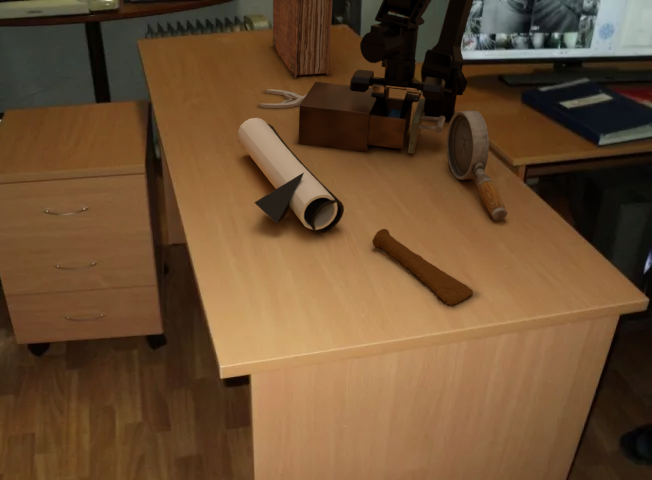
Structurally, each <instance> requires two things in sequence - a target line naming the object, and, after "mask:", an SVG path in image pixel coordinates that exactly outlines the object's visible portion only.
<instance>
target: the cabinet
mask: <svg viewBox="0 0 652 480" xmlns="http://www.w3.org/2000/svg"><path fill="white" fill-rule="evenodd" d="M372 88H373V87H369V89H368V90H367V91H366V92H356V91H351V90H350V84H349V85H348V84H339V83H331V82H322V81H315V82H314V83H313V84H312V86H311V87H310V89H309V91H308V92H307V93H306V94H307V95H306V96H305V98H304V99H303V101H302V102H301V104H300V105H299V107H298V108H299V109H298V110H299V111H298V112H299V113H298V115H299V116H298V144H299V145H300V144H301V145H308V146H313V147H314V146H315V147H322V148H328V149H329V148H330V149H338V150H346V151H353V152H361V153H367V152H368V149H369V147H370V145H368V132H369V121H370V114H371V112H372V110H373V108H374V106H375V103H376V101H377V99H376V98H375V97H372V96H371V94H372V92H373V89H372Z"/></svg>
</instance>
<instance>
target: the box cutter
mask: <svg viewBox="0 0 652 480" xmlns="http://www.w3.org/2000/svg"><path fill="white" fill-rule="evenodd" d="M400 114H401V110H396V109H391V112H390V114H389V117H393V118H400Z"/></svg>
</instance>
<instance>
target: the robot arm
mask: <svg viewBox="0 0 652 480" xmlns="http://www.w3.org/2000/svg"><path fill="white" fill-rule="evenodd" d="M430 3H432V0H382V1H381V3H380V6H379V8H378V11H377V13H376V16H375V17H374V21H375V22H379V23H375V24H371V25H370V29H369V30H370V31H369V32H367V33H365V34H364V35H363V36H362V38H361V41H360V43H359V49H360V53H361V55H362V57H363V59H364V60H366V62H368V63H371V64H377V63H380V62H381V68H384V75H383V77H379V76H375V72H374V70H368V69H367V70H366V69H357V70H355V71H354V73H353V74H352V76H351V78H350V82H349V83H350V84H349V86H350V90H351V91H356V92H366V91H367V90H368V89H369V88H370V87H371V88H372V89H373V92H372V94H371V96H372V97H375V98H376V99H377V101H378V104H379V106H380V108H381V111H382V114H383V116H385V117H389V97H390V89H393V90H401V91H406V92H405V95H404V97H403V99H404V102H403V106H402V110H401V114H400V118H401V119H404V117H405V115H406V113H407V111H408V109H409V108H410V106H411V105H412V106H413V104H414V103H418V102H419V99H421V96H423V99H425V105H424V112H423V116H431V117H438V119H439V117H440V116H444V117H445V122H450V121H451V119H452V117H453V115H454V114H455V113H456V109H455V107H456V103H457V97H458V96H463V95H464V92H465V91H466V89H467V85H468V80H467V78H466V76H465V75H464V73H463V67H464V57H463V53H462V48H461V46H462V42H463V38H464V34H465V31H466V27H467V24H468V21H469V18H470V13H471V10H472V6H473V3H474V0H448V2H447V3H448V4H447V8H446V11H445V14H444V19H443V22H442V26H441V30H440V33H439V37H438V40H437V43H435V45H433V47H432V48H430V49H427V50H426V51H425V54H424V59H423V63H422V65H421V67H420V77H421V78H420V80H421V81H417V80H416V81H415V80H413V79H414V78H415V75H416V67H417V66H416V62H417V61H416V54H417V53H416V52H417V45H418V37H419V27H420V26H421V25H423V24H425V22H426V21H425V19H424V18H423V15H424V13H426V11H427V9H428V8H429V5H430ZM389 12H390V13H389ZM412 103H413V104H412Z"/></svg>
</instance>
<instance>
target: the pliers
mask: <svg viewBox="0 0 652 480" xmlns="http://www.w3.org/2000/svg"><path fill="white" fill-rule="evenodd" d="M265 93H266V94H271V95H272V94H273V95H280V96H283V97H285V98H286V99H285V100H283V101H281V102H278V103H265V102H264V103H263V102H261V103H260V104H259V107H260V108H263V109H265V108H266V109H288V108H295V107H298V106H300V104H301V102H302V101H303V99H304V98H305V96H306V95H307V93H306V94H304V95H300V94H298V93H297V92H293V91H289V90H284V89H273V88H272V89H269V88H268V89H266V90H265Z"/></svg>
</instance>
